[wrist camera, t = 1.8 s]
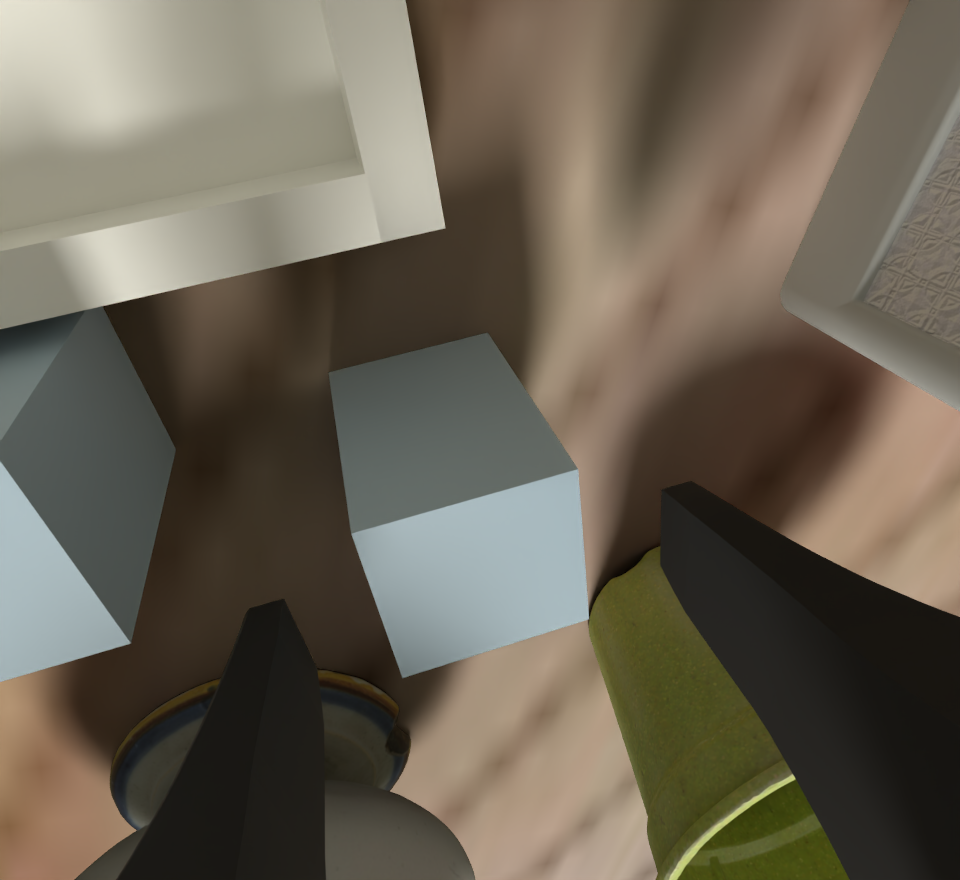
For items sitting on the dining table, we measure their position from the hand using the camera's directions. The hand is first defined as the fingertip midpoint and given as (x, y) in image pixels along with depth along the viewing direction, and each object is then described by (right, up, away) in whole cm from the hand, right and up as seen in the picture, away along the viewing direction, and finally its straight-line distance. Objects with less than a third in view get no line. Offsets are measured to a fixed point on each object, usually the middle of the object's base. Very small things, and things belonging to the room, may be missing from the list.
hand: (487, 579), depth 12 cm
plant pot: (+6, -3, +12) cm, 14 cm away
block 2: (-2, +3, +5) cm, 6 cm away
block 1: (-10, +3, +2) cm, 11 cm away
